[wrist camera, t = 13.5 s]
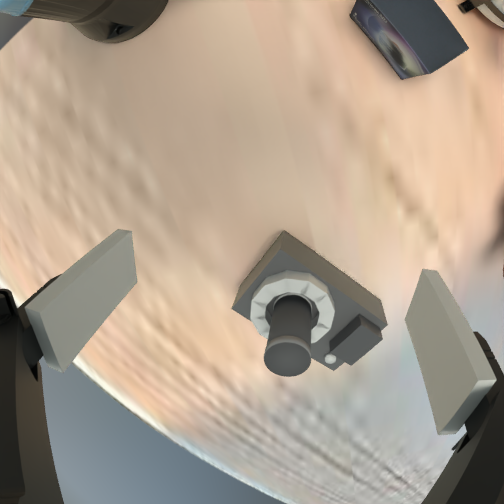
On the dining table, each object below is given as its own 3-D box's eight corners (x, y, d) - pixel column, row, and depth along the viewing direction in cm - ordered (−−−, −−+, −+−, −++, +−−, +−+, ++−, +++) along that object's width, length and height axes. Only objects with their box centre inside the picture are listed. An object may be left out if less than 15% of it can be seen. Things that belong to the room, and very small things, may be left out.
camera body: (240, 285, 48) (227, 319, 41) (284, 230, 43) (278, 258, 36) (332, 344, 50) (334, 382, 43) (380, 300, 45) (390, 336, 38)
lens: (275, 288, 40) (265, 340, 31) (314, 293, 40) (315, 346, 31) (271, 319, 42) (261, 373, 33) (308, 324, 42) (306, 379, 33)
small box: (345, 16, 30) (356, -12, 21) (382, -7, 27) (403, -37, 18) (400, 82, 32) (429, 75, 23) (435, 58, 30) (472, 47, 20)
